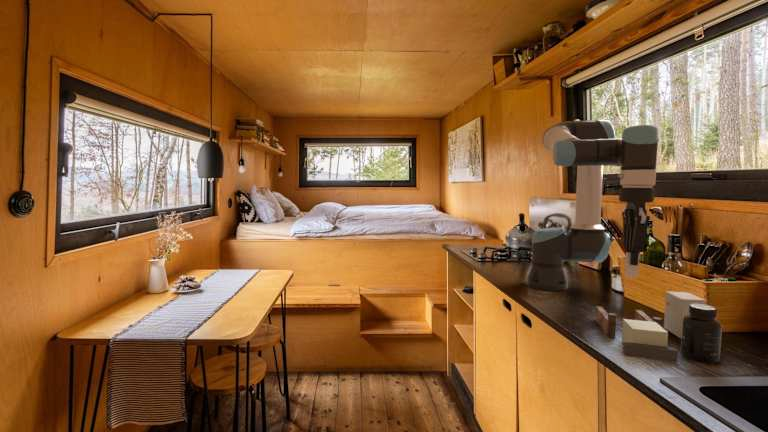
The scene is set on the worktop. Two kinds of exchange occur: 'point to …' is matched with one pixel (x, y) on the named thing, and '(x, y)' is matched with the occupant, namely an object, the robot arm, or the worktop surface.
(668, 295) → the small box
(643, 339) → the block
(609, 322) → the chute
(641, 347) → the bar
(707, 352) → the supplement bottle
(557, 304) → the worktop surface
